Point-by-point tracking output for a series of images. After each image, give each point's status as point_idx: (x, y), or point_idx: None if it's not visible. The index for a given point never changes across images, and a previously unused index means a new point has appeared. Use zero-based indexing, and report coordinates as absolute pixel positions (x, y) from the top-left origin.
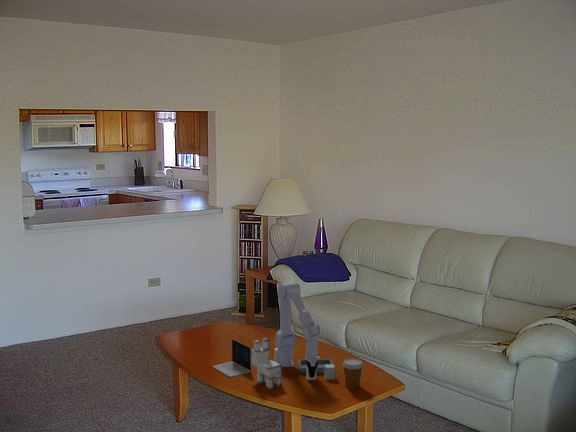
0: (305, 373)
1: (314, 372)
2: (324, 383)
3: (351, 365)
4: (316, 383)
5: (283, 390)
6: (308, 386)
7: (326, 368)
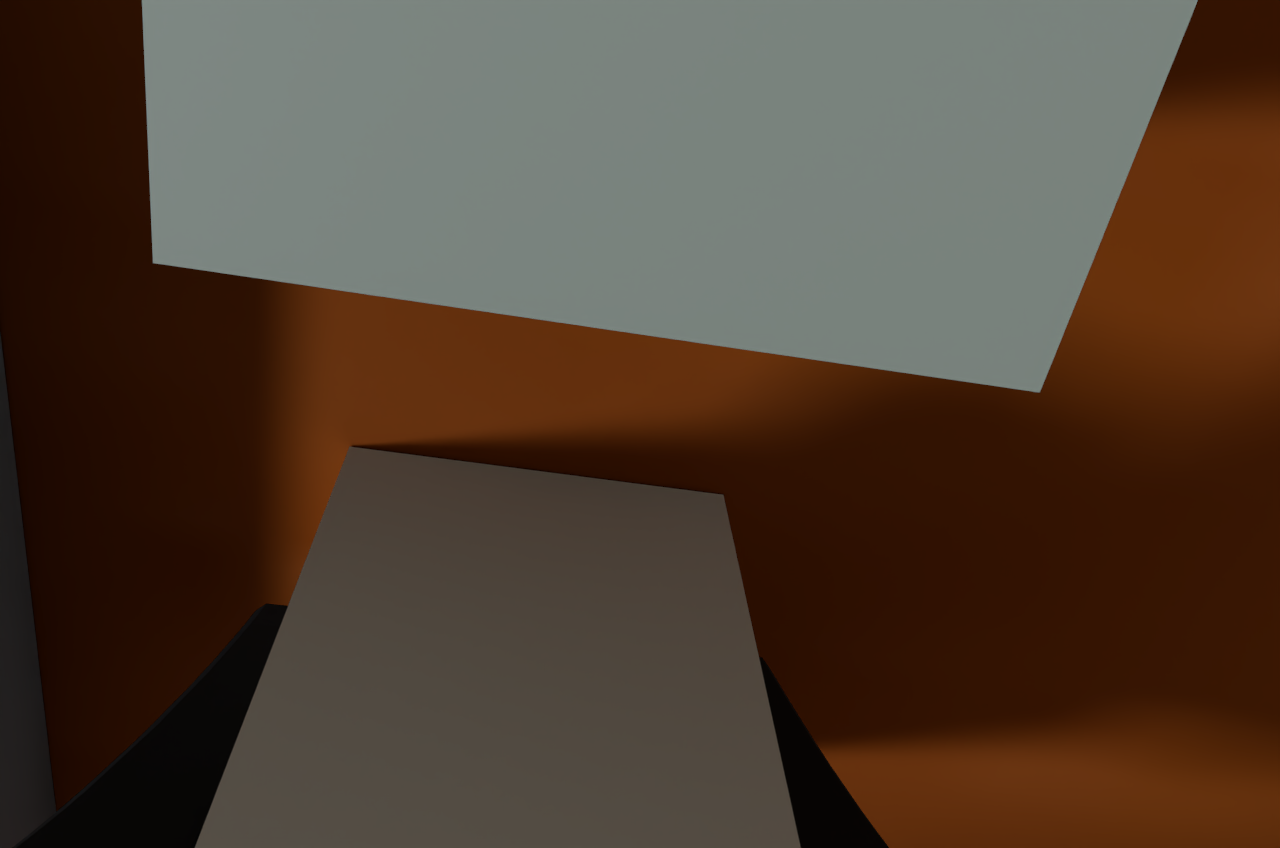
0: (42, 713)
1: (851, 836)
2: (1208, 302)
3: None
4: (1062, 569)
5: None
6: (1168, 813)
7: (1034, 293)
